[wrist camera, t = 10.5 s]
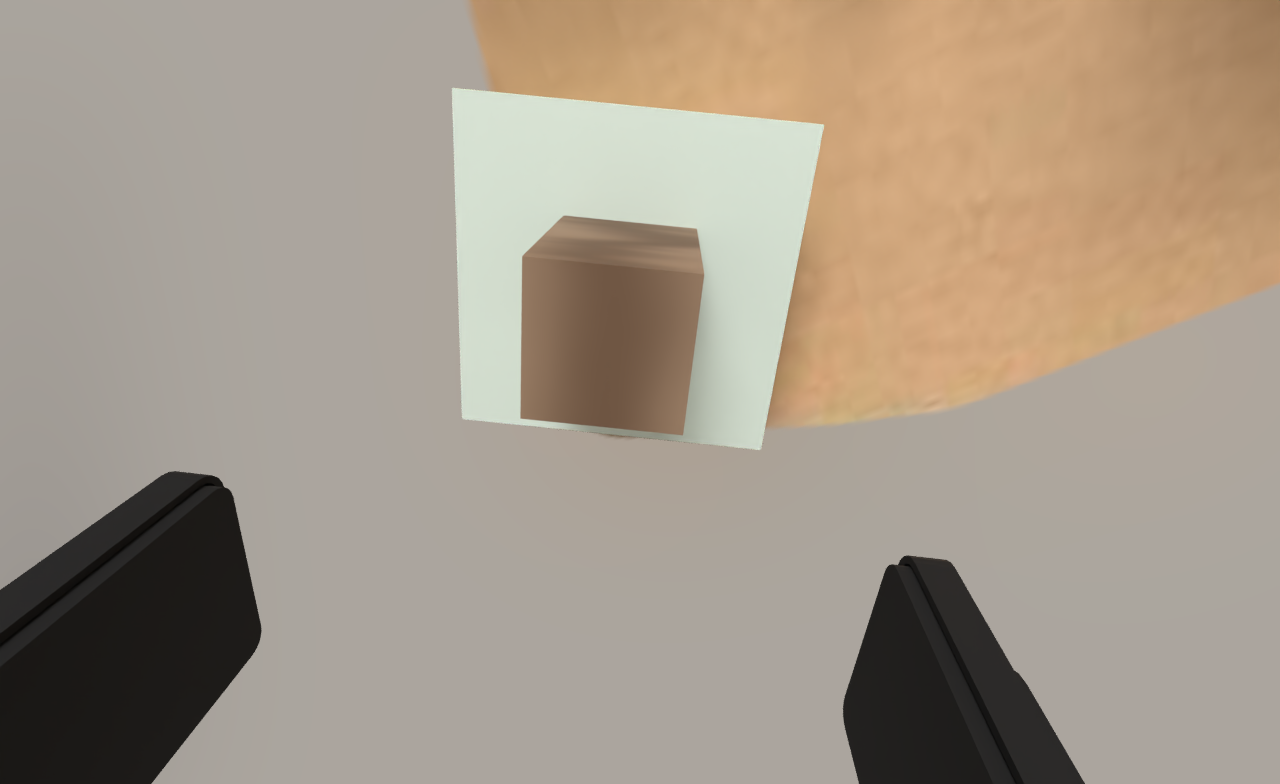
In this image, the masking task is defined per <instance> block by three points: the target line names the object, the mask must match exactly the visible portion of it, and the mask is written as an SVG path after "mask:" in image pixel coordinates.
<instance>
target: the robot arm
mask: <svg viewBox="0 0 1280 784" xmlns="http://www.w3.org/2000/svg"><path fill="white" fill-rule="evenodd" d="M260 637H261V623H260V619H259V614H258V609H257V605H256V600H255V596H254V591H253V587H252V582H251V577H250V573H249V568H248V563H247V558H246V554H245V549H244V545H243V540H242V536H241V531H240V526H239V522H238V517H237V513H236V507H235V503H234V498H233V495H232V493H231V491H230V490H229V489H227V488H225V487H224V486H223V483H222V482H221V481H220V479H219V478H217V477H215V476H212V475H203V474H194V473H186V472H176V471H174V472H168V473H166V474H164V475H162V476H160V477H159V478H158V479H156V480H155V481H154V482H152V483H150V484H149V485H148V486H146V487H145V488H144V489H142V490H141V491H139V492H138V493H137V494H135V495H134V496H132V497H131V498H129V499H128V500H127V501H125V502H124V503H122V504H121V505H120V506H118V507H117V508H115V509H114V510H112V511H111V512H110V513H108V514H107V515H105V516H104V517H103V518H101V519H100V520H98V521H97V522H96V523H94V524H93V525H91V526H90V527H89V528H87V529H86V530H84V531H83V532H81V533H80V534H79V535H77V536H76V537H75V538H73V539H72V540H70V541H69V542H67V543H66V544H64V545H63V546H62V547H60V548H59V549H57V550H56V551H55V552H53V553H52V554H50V555H49V556H48V557H46V558H45V559H43V560H42V561H41V562H39V563H38V564H37V565H35V566H34V567H32V568H31V569H29V570H28V571H27V572H25V573H24V574H22V575H21V576H20V577H18V578H17V579H15V580H14V581H12V582H11V583H10V584H8V585H7V586H5V587H4V588H2V589H1V590H0V784H151V783H152V782H153V781H154V780H155V778H156V777H157V776H158V774H159V773H160V772H161V771H162V769H163V768H164V767H165V766H166V764H167V763H168V762H169V760H170V759H171V758H172V757H173V755H174V754H175V753H176V752H177V750H178V749H179V748H180V746H181V745H182V744H183V743H184V741H185V740H186V739H187V738H188V736H189V735H190V734H191V733H192V731H193V730H194V729H195V727H196V726H197V725H198V724H199V722H200V721H201V720H202V719H203V717H204V716H205V715H206V713H207V712H208V711H209V710H210V708H211V707H212V706H213V705H214V703H215V702H216V701H217V700H218V698H219V697H220V696H221V694H222V693H223V692H224V691H225V689H226V688H227V687H228V686H229V684H230V683H231V682H232V680H233V679H234V678H235V677H236V675H237V674H238V673H239V672H240V670H241V669H242V668H243V666H244V665H245V664H246V663H247V661H248V660H249V659H250V658H251V656H252V655H253V653H254V652H255V650H256V648H257V646H258V644H259V641H260ZM843 717H844V725H845V730H846V734H847V738H848V741H849V746H850V749H851V753H852V757H853V761H854V765H855V769H856V773H857V777H858V781H859V784H1085V783H1084V781H1083V780H1082V778H1081V776H1080V775H1079V773H1078V771H1077V769H1076V768H1075V766H1074V764H1073V763H1072V761H1071V759H1070V758H1069V756H1068V754H1067V752H1066V751H1065V749H1064V747H1063V745H1062V744H1061V742H1060V740H1059V739H1058V737H1057V735H1056V733H1055V732H1054V730H1053V728H1052V727H1051V725H1050V723H1049V721H1048V720H1047V718H1046V716H1045V715H1044V713H1043V711H1042V709H1041V708H1040V706H1039V704H1038V703H1037V701H1036V699H1035V697H1034V696H1033V694H1032V692H1031V691H1030V689H1029V687H1028V685H1027V684H1026V683H1025V681H1024V680H1023V679H1022V677H1021V676H1020V675H1019V674H1018V673H1017V672H1016V671H1014V670H1013V668H1012V666H1011V664H1010V663H1009V661H1008V659H1007V658H1006V656H1005V654H1004V652H1003V650H1002V649H1001V647H1000V645H999V644H998V642H997V640H996V638H995V637H994V635H993V633H992V631H991V630H990V628H989V626H988V624H987V623H986V621H985V620H984V617H983V616H982V614H981V612H980V611H979V609H978V607H977V605H976V604H975V602H974V600H973V599H972V597H971V595H970V593H969V591H968V590H967V588H966V587H965V584H964V583H963V581H962V579H961V578H960V576H959V574H958V572H957V571H956V569H955V567H954V566H953V565H952V563H951V562H949V561H947V560H942V559H933V558H924V557H916V556H904V557H903V558H902V559H901V560H900V562H899V564H898V565H889V566H888V567H887V569H886V571H885V573H884V576H883V579H882V582H881V585H880V589H879V592H878V595H877V598H876V601H875V604H874V607H873V610H872V614H871V617H870V620H869V623H868V626H867V629H866V632H865V635H864V639H863V642H862V645H861V648H860V651H859V654H858V657H857V661H856V664H855V667H854V670H853V673H852V676H851V679H850V683H849V685H848V689H847V692H846V695H845V699H844V705H843Z"/></svg>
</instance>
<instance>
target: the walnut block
mask: <svg viewBox="0 0 1280 784" xmlns="http://www.w3.org/2000/svg"><path fill="white" fill-rule="evenodd" d="M703 281H704V269H703V263H702V257H701V251H700V245H699V239H698V232H697V229H695V228H685V227H675V226H665V225H655V224H645V223H635V222H625V221H615V220H605V219H595V218H585V217H574V216H563V217H562V218H560V219H559V220H558V221H557V222H556V223H555V224H554V225H553V226H552V227H551V228H550V229H549V230H548V231H547V232H546V233H545V234H544V235H543V236H542V237H541V238H540V239H539V240H538V241H537V242H536V243H535V244H534V245H533V246H532V247H531V248H530V249H529V250H528V251H527V252H526V253H525V254H524V255H523V256H522V312H521V407H520V419H529V420H539V421H548V422H558V423H568V424H577V425H587V426H597V427H607V428H616V429H626V430H636V431H645V432H655V433H665V434H675V435H683V432H684V424H685V417H686V409H687V402H688V394H689V387H690V379H691V372H692V364H693V357H694V349H695V341H696V334H697V326H698V319H699V311H700V304H701V296H702V289H703Z"/></svg>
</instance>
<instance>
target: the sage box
mask: <svg viewBox="0 0 1280 784" xmlns="http://www.w3.org/2000/svg"><path fill="white" fill-rule="evenodd" d="M452 103H453V104H452V107H453V140H454V172H455V204H456V233H457V235H456V236H457V269H458V301H459V302H458V303H459V332H460V333H459V334H460V368H461V399H462V400H461V401H462V419H467V420H477V421H486V422H496V423H506V424H515V425H524V426H534V427H544V428H553V429H563V430H572V431H582V432H591V433H601V434H611V435H620V436H630V437H639V438H649V439H659V440H668V441H678V442H688V443H697V444H707V445H717V446H725V447H735V448H745V449H754V450H761V447H762V441H763V436H764V431H765V426H766V421H767V416H768V411H769V406H770V400H771V395H772V390H773V385H774V380H775V375H776V370H777V364H778V359H779V354H780V349H781V344H782V339H783V334H784V328H785V323H786V318H787V313H788V308H789V303H790V298H791V292H792V287H793V282H794V277H795V272H796V267H797V262H798V257H799V251H800V246H801V241H802V236H803V231H804V226H805V221H806V215H807V210H808V205H809V200H810V195H811V190H812V185H813V179H814V174H815V169H816V164H817V159H818V154H819V149H820V143H821V138H822V133H823V128H824V125H823V124H814V123H804V122H794V121H784V120H774V119H764V118H754V117H743V116H733V115H723V114H713V113H703V112H693V111H683V110H673V109H663V108H653V107H642V106H632V105H622V104H612V103H602V102H592V101H582V100H572V99H562V98H551V97H541V96H531V95H521V94H511V93H501V92H491V91H480V90H471V89H460V88H452ZM563 216H574V217H585V218H595V219H605V220H615V221H625V222H635V223H645V224H655V225H665V226H675V227H685V228H695V229H697V232H698V239H699V245H700V251H701V257H702V263H703V269H704V281H703V289H702V296H701V304H700V311H699V319H698V326H697V334H696V341H695V349H694V357H693V364H692V372H691V379H690V387H689V394H688V402H687V409H686V417H685V424H684V432H683V435H675V434H665V433H655V432H645V431H636V430H626V429H616V428H607V427H597V426H587V425H577V424H568V423H558V422H548V421H539V420H529V419H520V407H521V312H522V256H523V255H524V254H525V253H526V252H527V251H528V250H529V249H530V248H531V247H532V246H533V245H534V244H535V243H536V242H537V241H538V240H539V239H540V238H541V237H542V236H543V235H544V234H545V233H546V232H547V231H548V230H549V229H550V228H551V227H552V226H553V225H554V224H555V223H556V222H557V221H558V220H559V219H560V218H562V217H563Z"/></svg>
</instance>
